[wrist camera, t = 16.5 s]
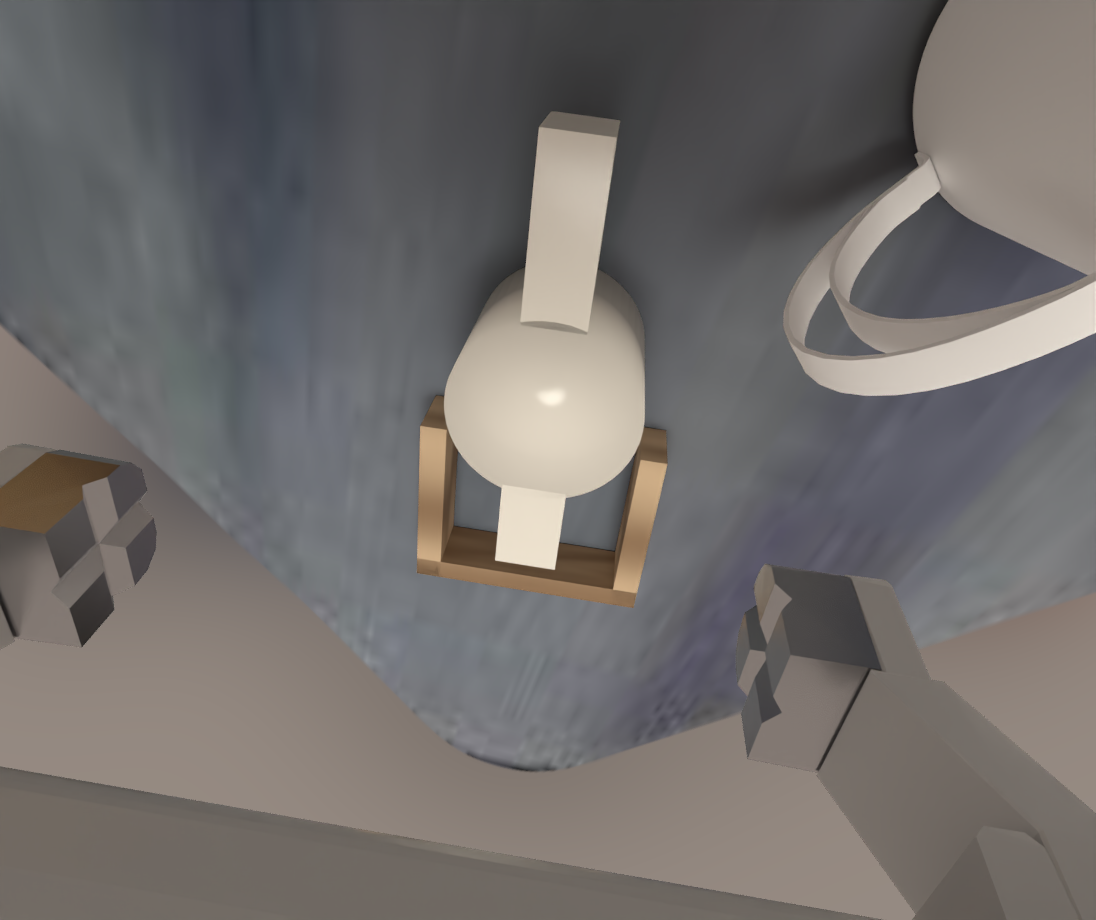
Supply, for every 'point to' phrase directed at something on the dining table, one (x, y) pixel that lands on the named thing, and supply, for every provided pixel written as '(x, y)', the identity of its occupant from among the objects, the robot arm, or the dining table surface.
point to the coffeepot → (979, 196)
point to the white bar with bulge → (553, 353)
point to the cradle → (575, 565)
